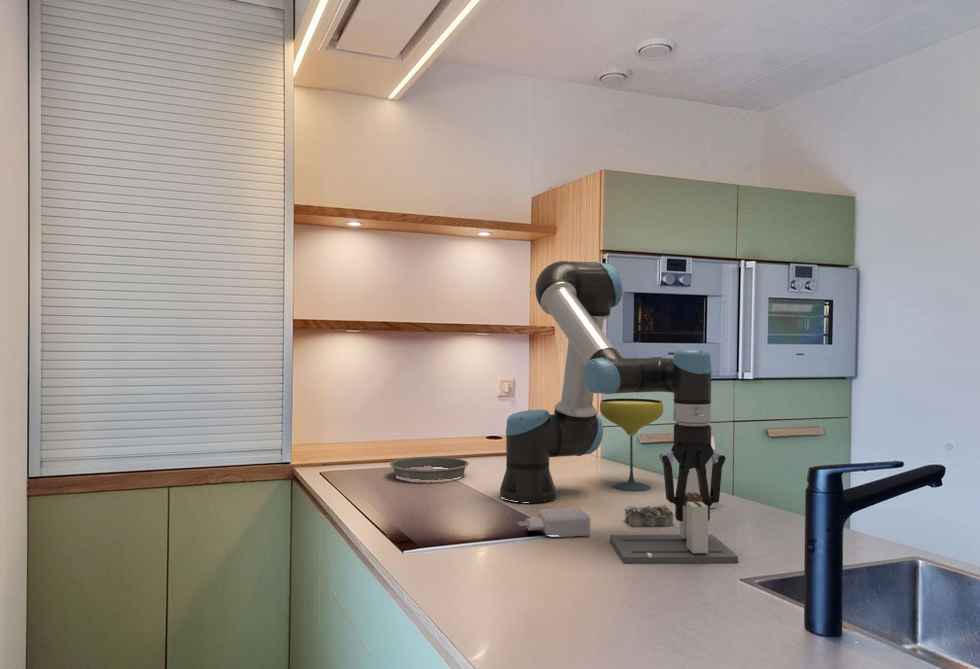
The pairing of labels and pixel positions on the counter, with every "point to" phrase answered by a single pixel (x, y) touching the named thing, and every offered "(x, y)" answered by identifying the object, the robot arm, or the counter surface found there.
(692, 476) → the milk carton
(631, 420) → the cocktail glass
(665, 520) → the egg carton
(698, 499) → the block
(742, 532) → the counter surface
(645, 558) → the console
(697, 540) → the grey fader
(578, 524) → the grey bottle
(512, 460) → the robot arm
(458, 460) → the cake pan
